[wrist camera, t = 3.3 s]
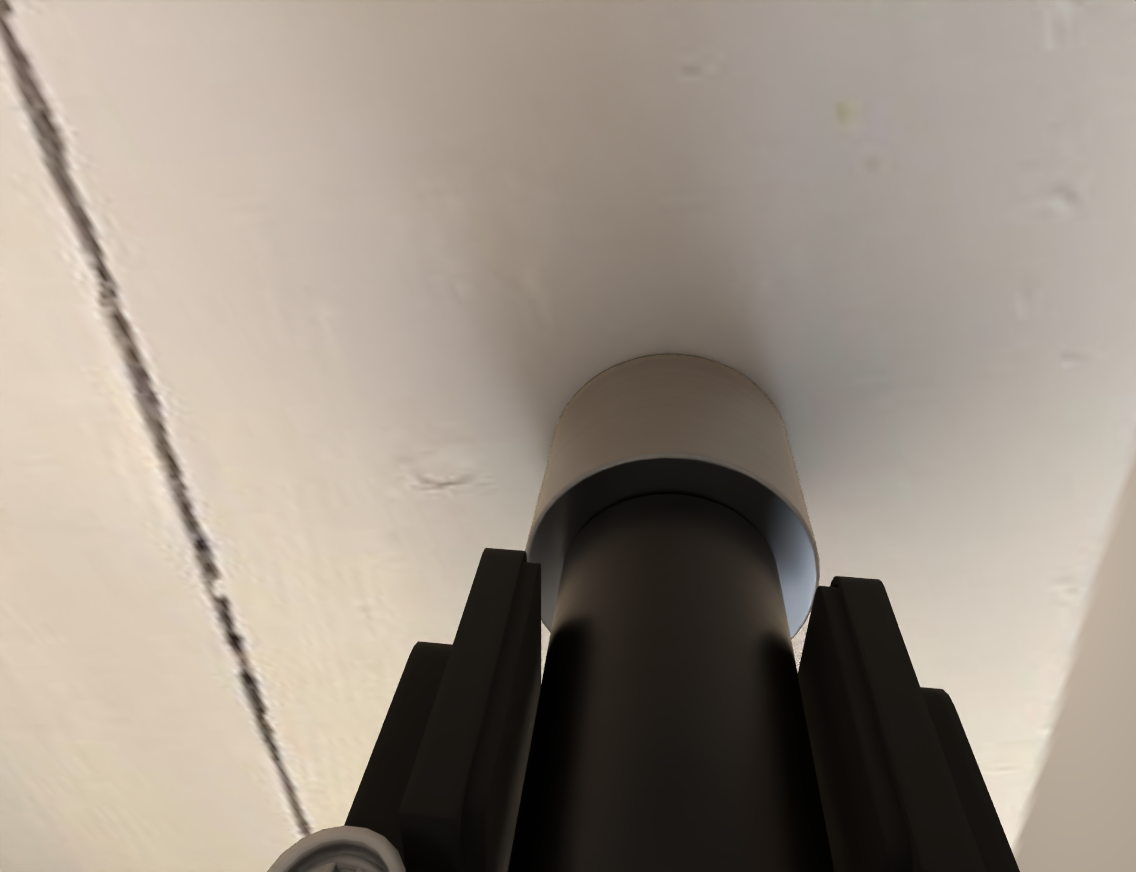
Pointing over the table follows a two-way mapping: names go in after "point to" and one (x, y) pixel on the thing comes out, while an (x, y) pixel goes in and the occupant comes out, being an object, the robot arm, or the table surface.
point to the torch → (671, 633)
